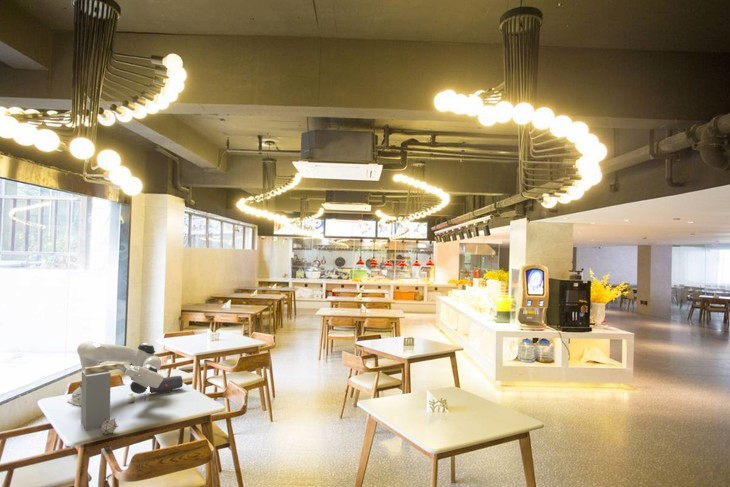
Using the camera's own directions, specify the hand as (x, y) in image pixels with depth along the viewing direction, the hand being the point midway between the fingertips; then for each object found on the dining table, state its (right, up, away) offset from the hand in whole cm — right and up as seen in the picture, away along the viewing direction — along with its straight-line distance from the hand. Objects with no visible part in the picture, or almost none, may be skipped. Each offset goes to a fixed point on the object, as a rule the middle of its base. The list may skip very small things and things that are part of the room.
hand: (115, 365), depth 269 cm
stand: (-8, -32, -7) cm, 33 cm away
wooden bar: (-4, -2, -4) cm, 6 cm away
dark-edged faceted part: (+8, -32, -22) cm, 39 cm away
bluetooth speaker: (+5, -33, +53) cm, 63 cm away
